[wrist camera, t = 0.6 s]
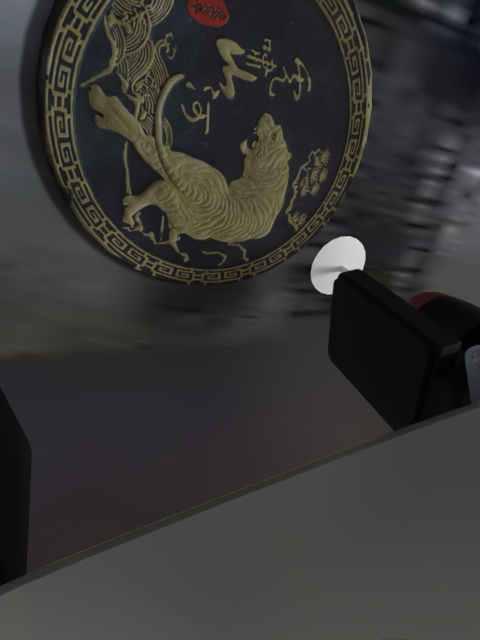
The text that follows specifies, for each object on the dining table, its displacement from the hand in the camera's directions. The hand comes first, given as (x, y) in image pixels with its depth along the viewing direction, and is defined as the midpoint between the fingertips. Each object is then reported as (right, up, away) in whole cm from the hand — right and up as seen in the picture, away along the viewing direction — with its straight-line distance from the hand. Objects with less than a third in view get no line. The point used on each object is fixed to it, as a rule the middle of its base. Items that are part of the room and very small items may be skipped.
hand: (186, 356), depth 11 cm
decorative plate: (0, +18, +26) cm, 32 cm away
